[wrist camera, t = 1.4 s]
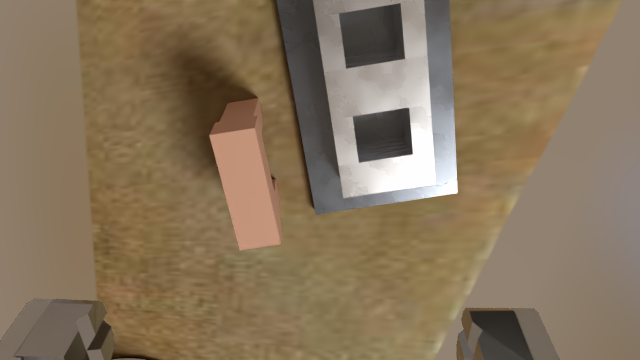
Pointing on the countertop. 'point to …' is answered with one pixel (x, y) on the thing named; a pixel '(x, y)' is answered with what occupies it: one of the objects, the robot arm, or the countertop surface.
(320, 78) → the grey slotted holder
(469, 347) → the robot arm
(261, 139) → the clip
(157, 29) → the countertop surface
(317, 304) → the countertop surface
